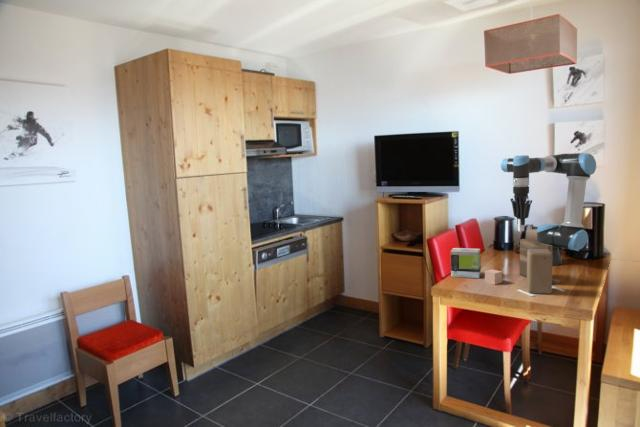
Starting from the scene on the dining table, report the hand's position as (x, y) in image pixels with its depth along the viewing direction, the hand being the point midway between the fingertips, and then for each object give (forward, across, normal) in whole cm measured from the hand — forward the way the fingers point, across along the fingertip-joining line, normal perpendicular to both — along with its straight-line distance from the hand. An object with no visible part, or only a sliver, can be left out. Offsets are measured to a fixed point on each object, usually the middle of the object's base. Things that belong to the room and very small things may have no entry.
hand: (521, 231), depth 233 cm
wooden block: (+27, +18, -5) cm, 32 cm away
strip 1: (+26, +18, -13) cm, 34 cm away
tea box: (+26, -20, -20) cm, 39 cm away
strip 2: (+26, +18, +4) cm, 32 cm away
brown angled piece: (+27, +2, +10) cm, 28 cm away
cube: (+26, -3, -15) cm, 30 cm away
